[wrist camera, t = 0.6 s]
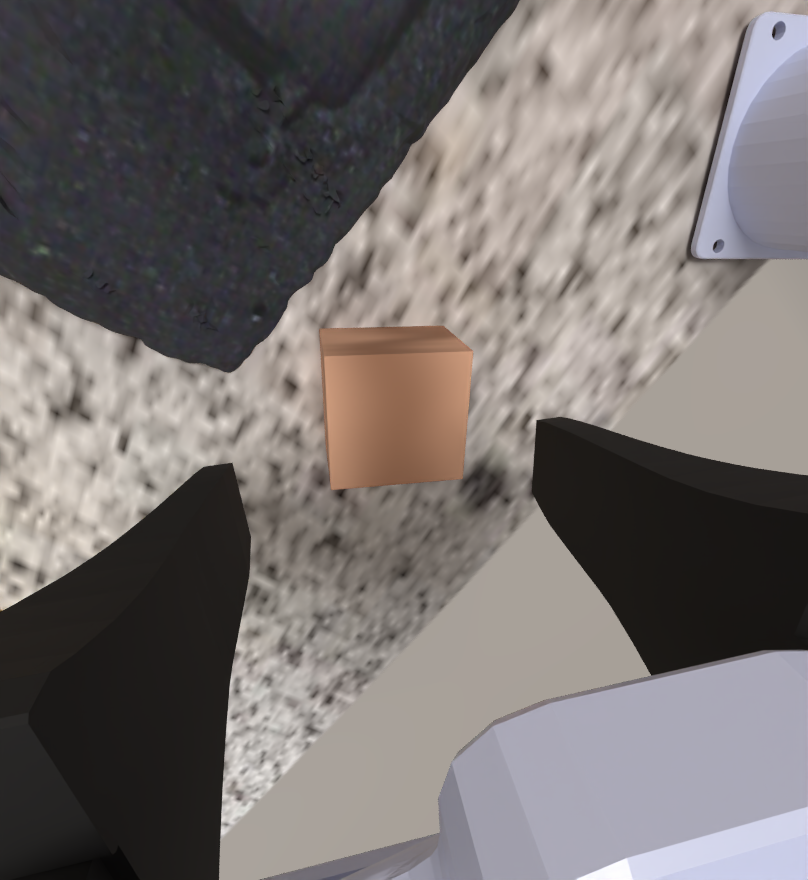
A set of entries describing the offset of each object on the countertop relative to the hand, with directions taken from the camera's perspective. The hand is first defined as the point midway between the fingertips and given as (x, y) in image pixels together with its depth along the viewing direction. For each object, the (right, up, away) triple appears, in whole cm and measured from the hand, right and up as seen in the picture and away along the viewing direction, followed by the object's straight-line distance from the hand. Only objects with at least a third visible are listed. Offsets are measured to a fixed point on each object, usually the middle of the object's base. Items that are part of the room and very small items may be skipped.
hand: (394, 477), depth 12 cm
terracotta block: (-1, +3, +9) cm, 10 cm away
